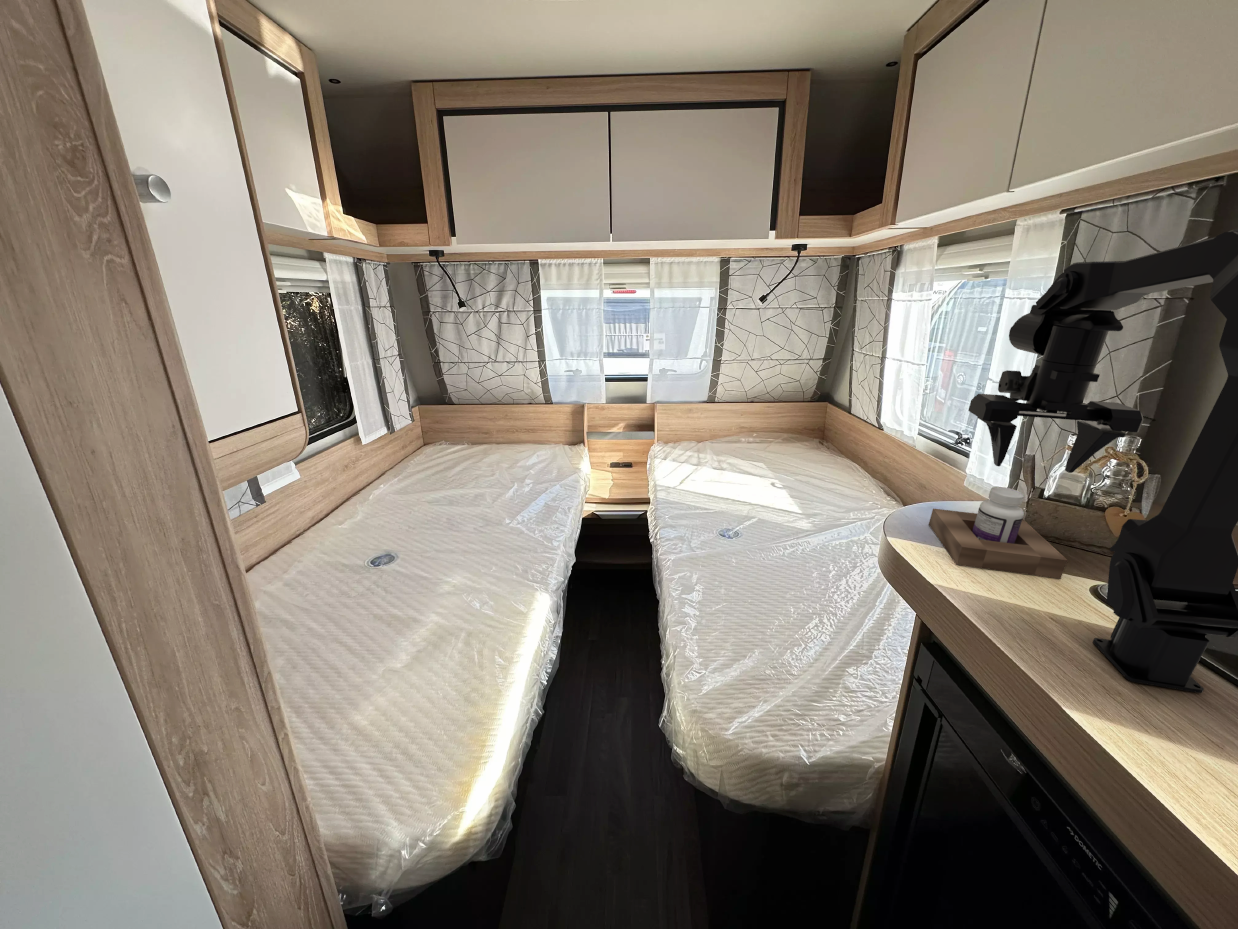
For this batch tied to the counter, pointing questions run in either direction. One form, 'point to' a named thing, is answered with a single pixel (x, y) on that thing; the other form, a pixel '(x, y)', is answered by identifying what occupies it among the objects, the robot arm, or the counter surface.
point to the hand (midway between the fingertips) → (1032, 468)
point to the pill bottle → (999, 516)
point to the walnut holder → (996, 547)
